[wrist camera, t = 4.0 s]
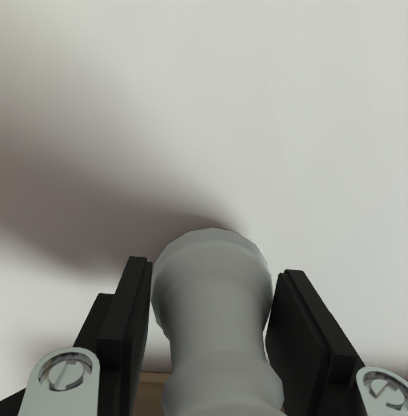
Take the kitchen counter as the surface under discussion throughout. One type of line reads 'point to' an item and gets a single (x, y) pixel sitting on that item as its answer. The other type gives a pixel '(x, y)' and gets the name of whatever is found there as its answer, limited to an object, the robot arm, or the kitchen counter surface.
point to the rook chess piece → (215, 326)
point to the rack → (152, 394)
